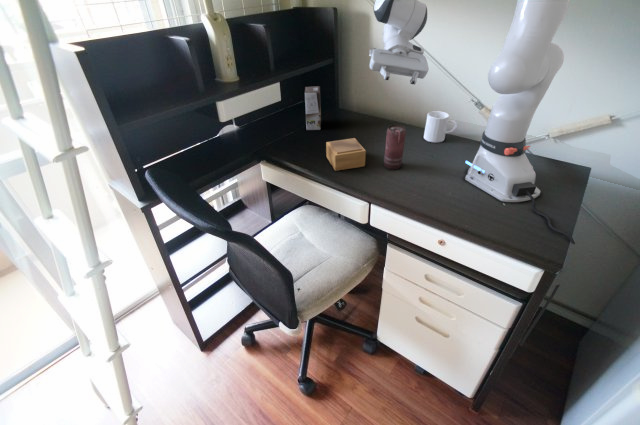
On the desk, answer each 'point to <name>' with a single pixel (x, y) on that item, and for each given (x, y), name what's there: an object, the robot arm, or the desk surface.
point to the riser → (345, 154)
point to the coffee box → (313, 108)
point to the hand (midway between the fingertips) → (400, 80)
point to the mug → (437, 126)
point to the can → (394, 147)
